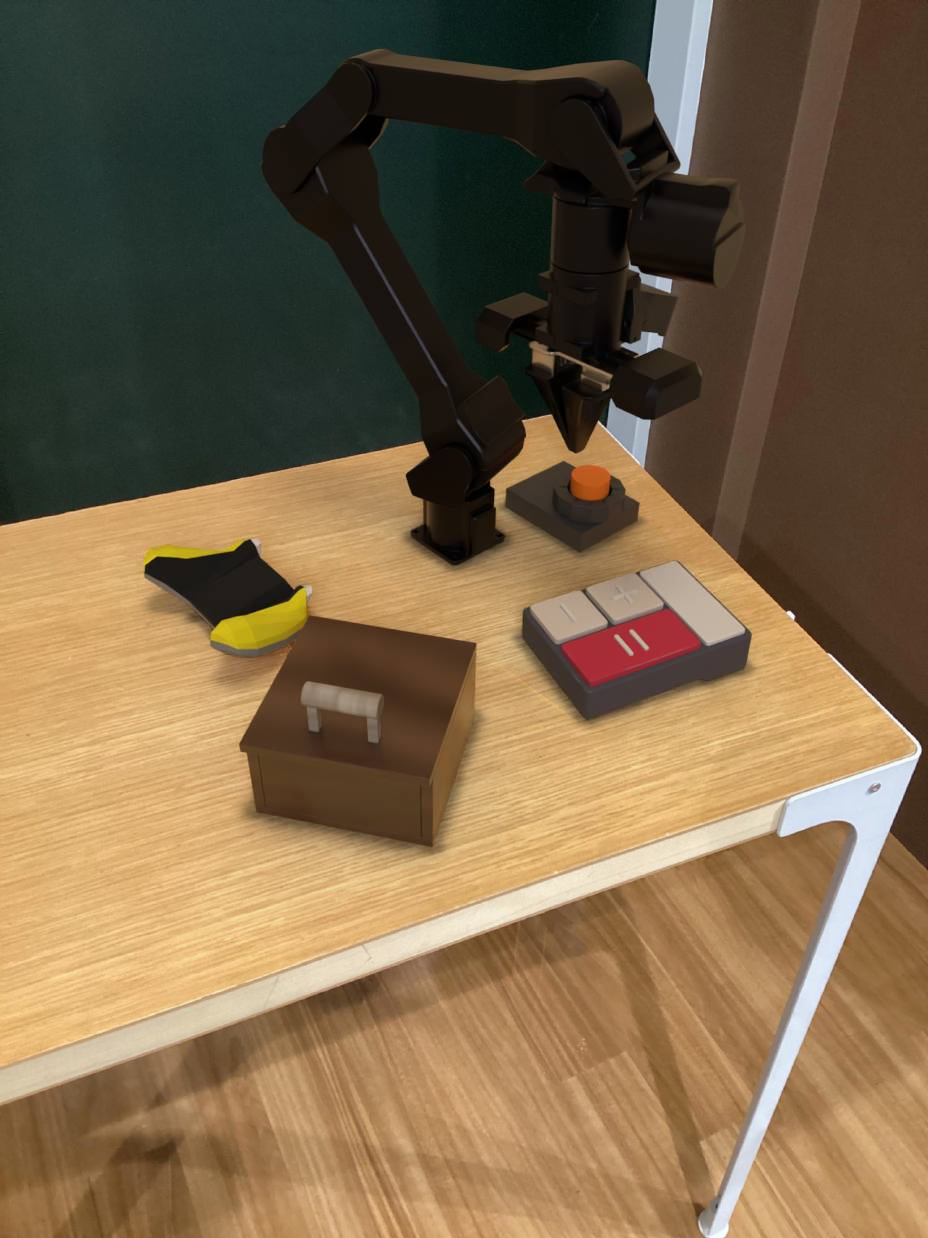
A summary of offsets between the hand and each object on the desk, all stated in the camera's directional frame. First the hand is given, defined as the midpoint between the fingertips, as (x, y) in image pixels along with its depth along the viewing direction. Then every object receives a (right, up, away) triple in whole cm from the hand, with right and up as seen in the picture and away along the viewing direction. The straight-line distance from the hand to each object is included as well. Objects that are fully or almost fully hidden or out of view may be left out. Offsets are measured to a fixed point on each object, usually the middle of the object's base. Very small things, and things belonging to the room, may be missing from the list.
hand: (576, 450), depth 87 cm
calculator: (+5, -17, +1) cm, 17 cm away
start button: (+3, -2, +13) cm, 13 cm away
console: (+1, -4, +16) cm, 17 cm away
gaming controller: (-28, -14, +3) cm, 32 cm away
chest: (-16, -24, -9) cm, 30 cm away
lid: (-16, -19, -14) cm, 29 cm away
